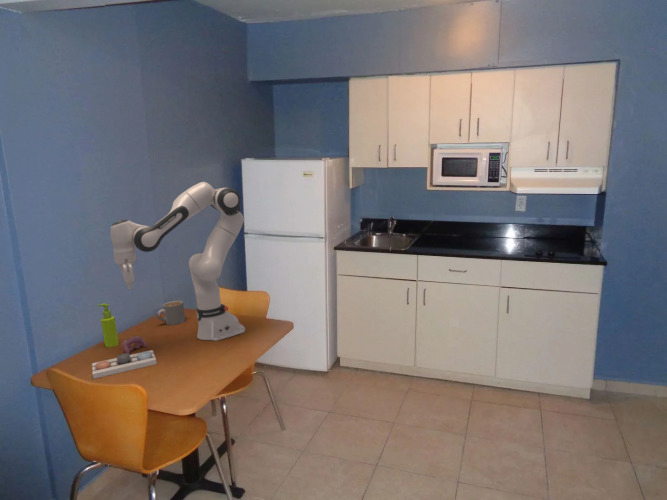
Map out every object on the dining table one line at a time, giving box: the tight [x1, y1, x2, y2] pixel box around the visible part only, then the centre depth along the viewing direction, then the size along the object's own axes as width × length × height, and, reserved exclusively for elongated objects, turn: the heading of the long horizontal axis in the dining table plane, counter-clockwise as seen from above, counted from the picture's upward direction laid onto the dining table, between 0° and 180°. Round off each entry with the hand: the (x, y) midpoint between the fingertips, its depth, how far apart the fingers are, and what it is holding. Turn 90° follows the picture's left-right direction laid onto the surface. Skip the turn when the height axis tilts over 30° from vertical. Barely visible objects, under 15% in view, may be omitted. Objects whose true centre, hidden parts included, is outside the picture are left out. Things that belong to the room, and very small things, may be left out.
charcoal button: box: [116, 352, 132, 366], centre depth 201 cm, size 5×5×3 cm
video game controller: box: [121, 335, 148, 355], centre depth 219 cm, size 10×5×7 cm, turn 142°
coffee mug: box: [156, 300, 186, 326], centre depth 252 cm, size 13×10×10 cm
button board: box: [91, 349, 158, 380], centre depth 202 cm, size 24×12×2 cm, turn 117°
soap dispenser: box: [96, 303, 119, 348], centre depth 225 cm, size 6×7×20 cm
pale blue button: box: [137, 351, 152, 361], centre depth 205 cm, size 5×5×3 cm
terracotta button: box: [96, 360, 110, 370], centre depth 198 cm, size 5×5×3 cm
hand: (129, 288), depth 212 cm, fingers closed
